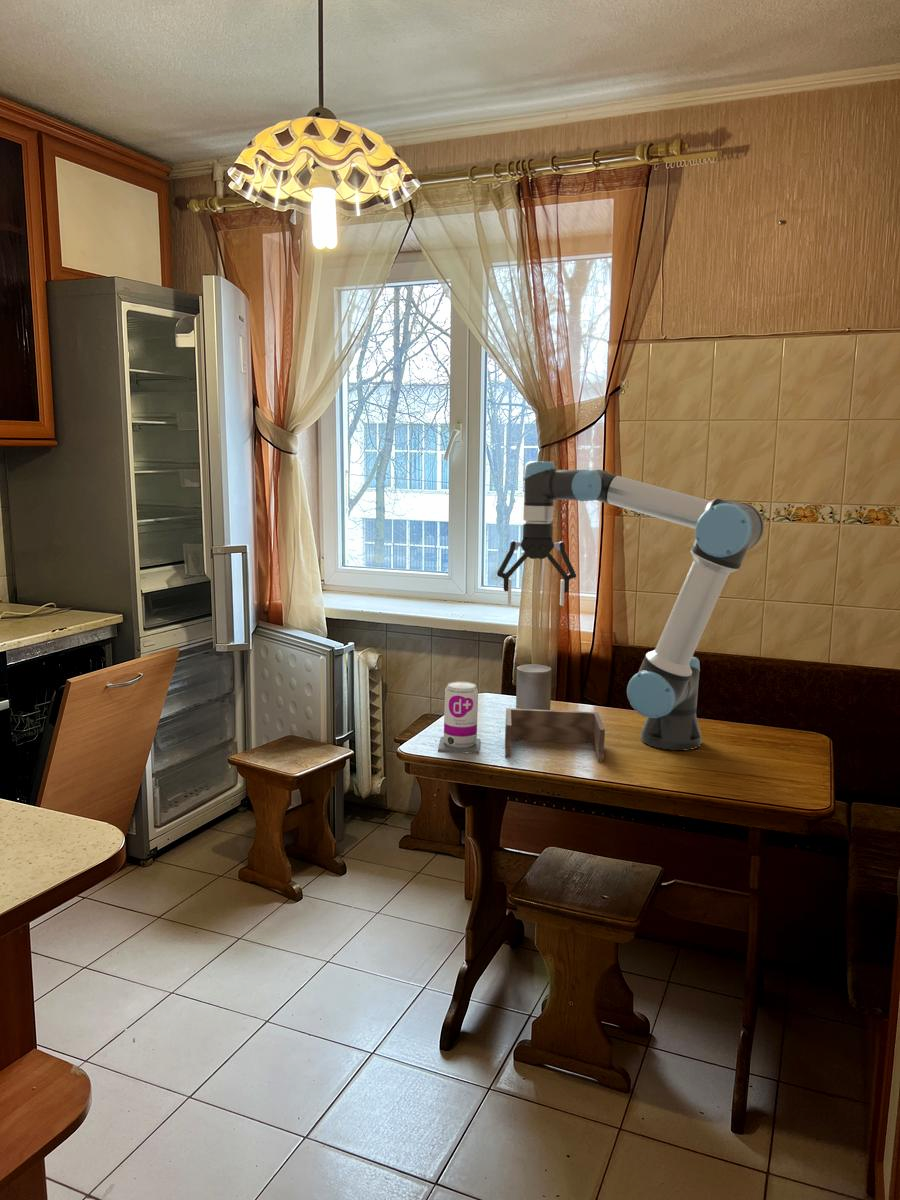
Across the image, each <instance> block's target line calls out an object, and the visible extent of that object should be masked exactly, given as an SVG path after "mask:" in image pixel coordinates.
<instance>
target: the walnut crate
mask: <svg viewBox="0 0 900 1200" xmlns="http://www.w3.org/2000/svg"><path fill="white" fill-rule="evenodd" d="M505 709H506V710H505V726H504V727H505V730H504V758H507V757H510V758H511V743H512V741H520V740H523V742H541V743H542V741H543V742H546V743H563V742H565V743H566V744H567V743H568V744H583V745H584V744H588V745H589V744H590V745H592V747H593V750H594V754H595V757H596V760H597V762H598V763H604V755H605V754H604V753H605V738H606V737H605V736H606V735H605V733H606V728H605V726H604V723H603V721H602V718H601V715H600V713H599V712H598V711H596V712H595V711H581V710H580V711H577V710H576V711H575V710H573V711H572V710H557V709H555V710H552V709H550V710H536V709H516V708H512V707H511V708H510V707H509V708H508V707H506V708H505ZM565 743H564V744H565Z"/></svg>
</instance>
